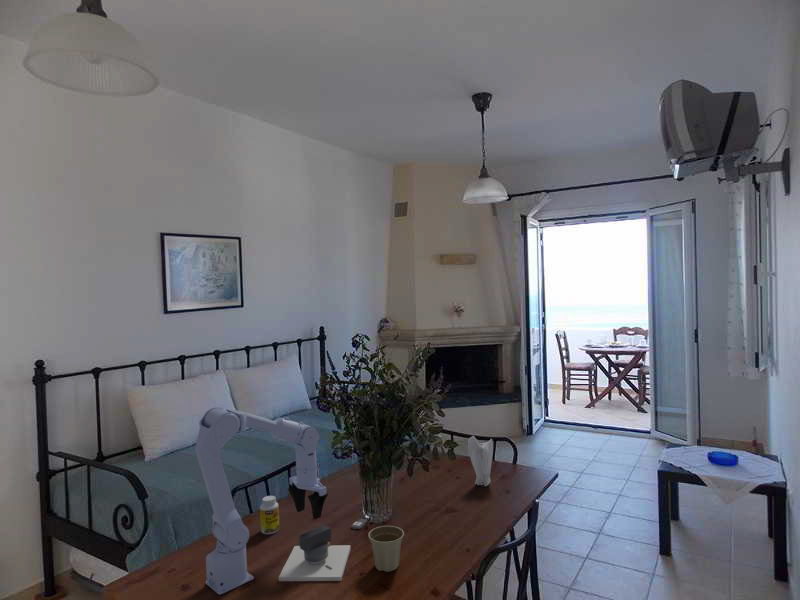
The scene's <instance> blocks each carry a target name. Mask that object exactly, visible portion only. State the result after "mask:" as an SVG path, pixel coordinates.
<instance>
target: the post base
mask: <svg viewBox="0 0 800 600" xmlns="http://www.w3.org/2000/svg"><path fill="white" fill-rule="evenodd" d="M351 548H352V547H351V545H350V544H349V545H348V544H347V545H344V544H343V545H341V544H339V545H338V544H336V545H330V547H328V557H327V558H326V559H324V560H322V561H318V562H309V561H306V560H305V559H304V550H302V549H300V545H294V547H293V549H292V551H291V552H290V554H289V556H288V558H287V560H286V563H285V564H284V566H283V568H282V570H281V572H280V574H279V576H278V582H342V579H343V576H344V572H345V569H346V565H347V563H348V559H349V557H350V556H349V555H350V553H351Z"/></svg>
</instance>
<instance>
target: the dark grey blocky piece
mask: <svg viewBox="0 0 800 600" xmlns="http://www.w3.org/2000/svg"><path fill="white" fill-rule="evenodd" d="M331 531H332V529H331V527H330V526H327V525H325V524H323V525H321V526H318V527H315V528H313V529H312V530H309V531H307V532H304V533H302V534H300V535H299V546H300V549H302V550H304V559H305V560H306V561H309V562H318V561H322V560H324V559H326V558H327V557H328V547H330V546H331V541H332V532H331Z"/></svg>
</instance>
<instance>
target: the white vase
mask: <svg viewBox="0 0 800 600" xmlns="http://www.w3.org/2000/svg"><path fill="white" fill-rule="evenodd" d="M467 443H468V445H467V450H468V455H469V457H470V461H471V462H470V463H471V464H472V467H473V469H474V472H475V476H476V479H475V481H474V484H475V485H476V484H477V485H476V486H479V485H481V486H480V487H488V486H489V485H490V484H491V477H490V476H491V470H492V464H493V463H492V461H493V456H494V455H493V454H494V443H493V438H490V440H488V441H487V442H483V443H481V442H480V441H478V439H477V438H476V437H475V436H474V435H471V437H469V438H468V439H467ZM482 482H483V483H482ZM489 483H490V484H489ZM482 485H484V486H482Z"/></svg>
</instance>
